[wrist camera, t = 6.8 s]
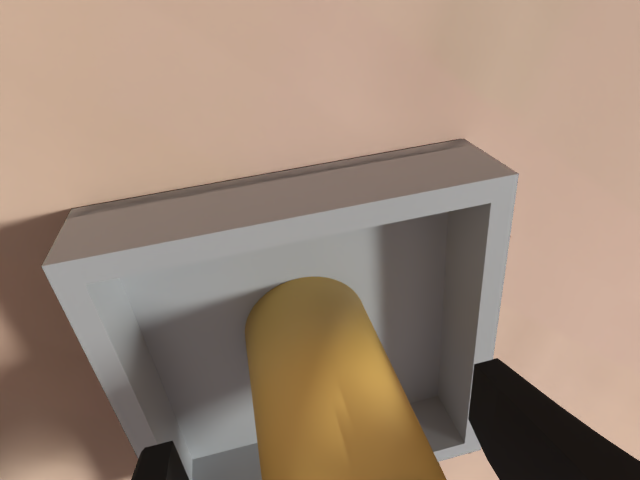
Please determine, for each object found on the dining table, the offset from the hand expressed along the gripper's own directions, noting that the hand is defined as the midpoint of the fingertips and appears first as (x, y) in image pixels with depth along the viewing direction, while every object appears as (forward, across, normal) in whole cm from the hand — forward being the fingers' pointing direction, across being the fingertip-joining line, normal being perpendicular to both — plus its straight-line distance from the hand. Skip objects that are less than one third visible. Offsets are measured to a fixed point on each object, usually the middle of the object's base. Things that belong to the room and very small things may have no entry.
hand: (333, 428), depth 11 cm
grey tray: (+4, 0, 0) cm, 4 cm away
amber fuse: (+3, 0, 0) cm, 3 cm away
